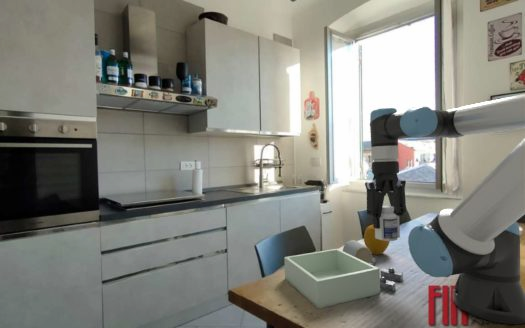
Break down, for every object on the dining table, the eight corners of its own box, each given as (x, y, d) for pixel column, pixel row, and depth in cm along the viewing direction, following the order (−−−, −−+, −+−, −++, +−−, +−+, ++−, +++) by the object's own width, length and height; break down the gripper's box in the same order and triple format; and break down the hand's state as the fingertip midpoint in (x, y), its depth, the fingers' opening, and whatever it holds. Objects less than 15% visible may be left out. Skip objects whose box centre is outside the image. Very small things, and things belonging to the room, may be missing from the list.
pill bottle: (376, 236, 89) (375, 205, 89) (394, 236, 88) (393, 205, 88) (380, 241, 84) (379, 208, 84) (400, 241, 83) (398, 207, 83)
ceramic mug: (356, 269, 98) (356, 246, 98) (342, 261, 106) (342, 240, 106) (381, 265, 101) (381, 243, 101) (366, 257, 109) (366, 237, 109)
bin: (380, 293, 80) (379, 268, 80) (318, 308, 73) (317, 281, 73) (337, 268, 99) (337, 248, 99) (285, 278, 92) (284, 257, 92)
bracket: (383, 274, 93) (382, 264, 93) (403, 279, 89) (402, 268, 89) (371, 286, 85) (371, 275, 84) (393, 292, 81) (392, 280, 81)
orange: (392, 258, 107) (391, 227, 107) (365, 257, 110) (364, 226, 109) (388, 250, 116) (387, 221, 116) (363, 249, 119) (362, 220, 119)
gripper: (398, 160, 93) (401, 231, 93) (351, 161, 86) (354, 238, 86) (418, 159, 86) (421, 236, 86) (368, 161, 79) (371, 245, 79)
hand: (387, 237), depth 86 cm, fingers closed on pill bottle, 5 cm apart
